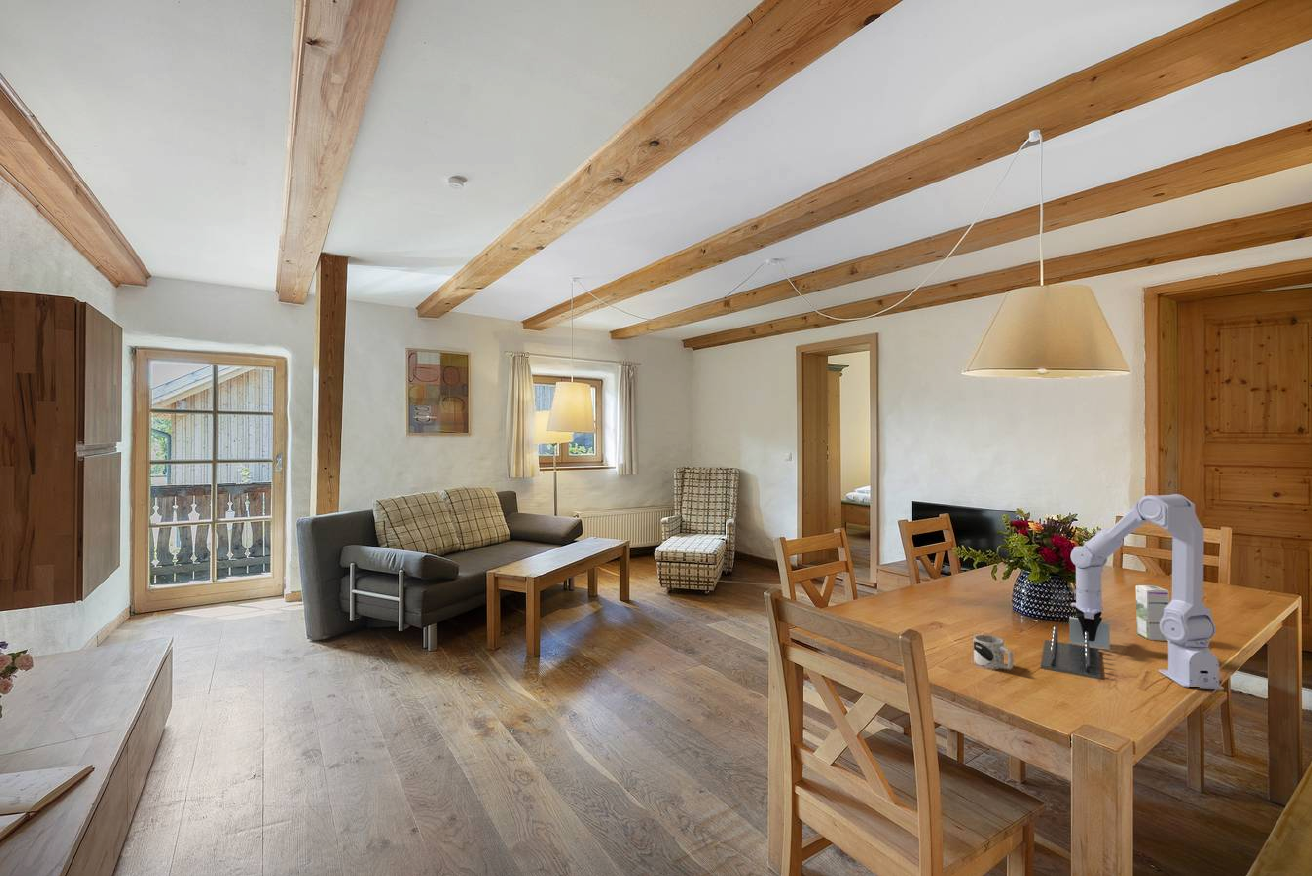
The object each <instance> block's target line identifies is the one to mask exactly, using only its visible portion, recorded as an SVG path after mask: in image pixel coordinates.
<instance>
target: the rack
mask: <svg viewBox="0 0 1312 876" xmlns="http://www.w3.org/2000/svg"><path fill="white" fill-rule="evenodd" d="M1052 632H1053V633H1052V638H1051V640H1048V639H1047V640H1046V639H1044V644H1043V651H1042V656H1041V660H1040V661H1041V663H1040V669H1044V670H1050V671H1056V672H1060V673H1065V674H1070V675H1076V676H1081V677H1085V678H1093V679H1097V680H1101V679H1102V677H1101V675H1102V674H1101V665H1100V664H1101V663H1100V653H1099V652H1100V651H1099V648H1097V647H1090V646H1089V632H1087V631H1085V646H1084V645H1078V644H1072V643H1066V642H1059V641H1058V627H1057V626H1053V630H1052Z"/></svg>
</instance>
